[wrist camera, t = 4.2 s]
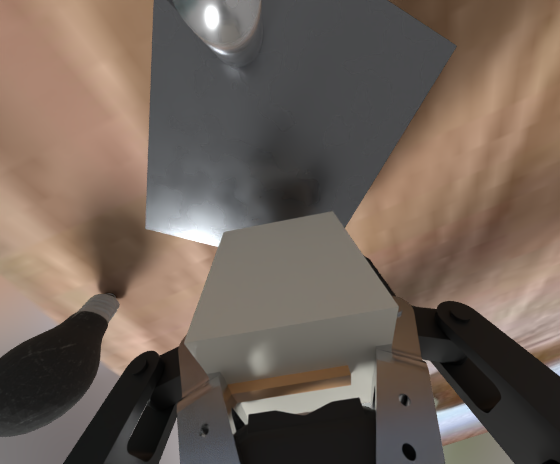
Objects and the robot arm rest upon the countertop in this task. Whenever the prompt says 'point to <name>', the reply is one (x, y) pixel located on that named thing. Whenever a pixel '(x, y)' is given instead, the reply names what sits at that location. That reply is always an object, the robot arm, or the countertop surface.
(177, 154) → the plate
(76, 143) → the countertop surface
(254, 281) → the white box
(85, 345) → the light bulb
